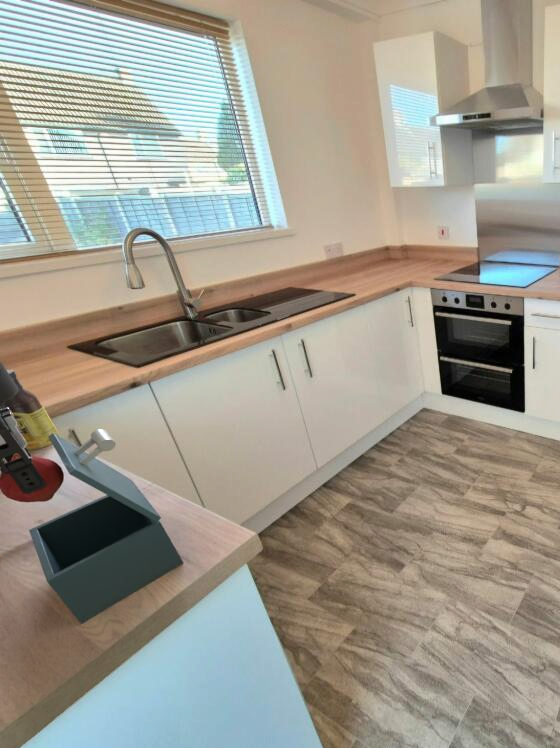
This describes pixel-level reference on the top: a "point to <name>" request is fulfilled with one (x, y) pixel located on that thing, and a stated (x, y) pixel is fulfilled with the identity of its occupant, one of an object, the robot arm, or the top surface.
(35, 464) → the onion
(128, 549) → the chest
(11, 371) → the sauce bottle
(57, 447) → the lid
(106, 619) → the top surface
